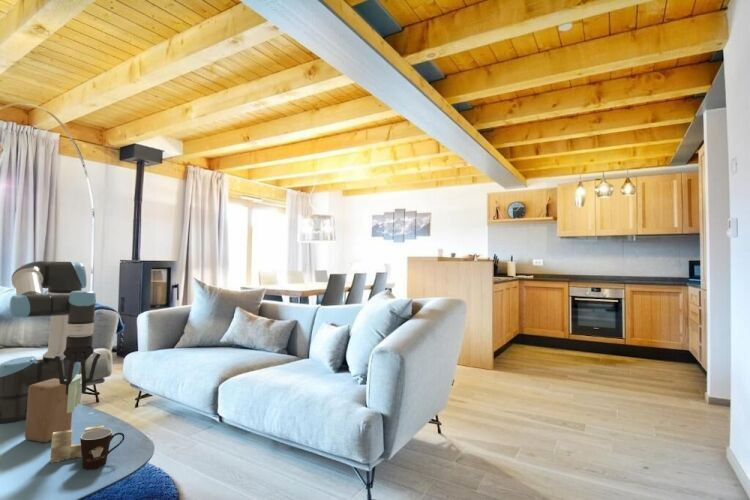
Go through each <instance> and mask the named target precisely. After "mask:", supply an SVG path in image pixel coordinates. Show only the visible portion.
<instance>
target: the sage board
mask: <svg viewBox="0 0 750 500" xmlns="http://www.w3.org/2000/svg"><path fill="white" fill-rule="evenodd" d="M80 383H82V376H81V373H80V374H79V373H78V374H77V375H76V376H75V377H74V379H73V380H72V381H71V383H70V384H69V388H68V402H67V413H71V412H72V413H74V412H75V410H76V408H77V407H78V405H79V404H78V394H79V384H80Z"/></svg>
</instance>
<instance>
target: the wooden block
mask: <svg viewBox="0 0 750 500" xmlns="http://www.w3.org/2000/svg"><path fill="white" fill-rule="evenodd" d="M67 402H68V395H66V385H65V384H60V381H59V379H56V378H53V379H50V380H46V381H43V382H39V383H35V384H32V385H30V386H29V389H28V402H27V416H26V419H25V429H24V430H25V434H24V438H25V440H27V441H33V442H41V443H47V442H50V441H51V442H52V434H53V432H59V431H66V430H72V418H73V412H71V413H67Z"/></svg>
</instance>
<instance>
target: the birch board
mask: <svg viewBox="0 0 750 500" xmlns="http://www.w3.org/2000/svg"><path fill="white" fill-rule="evenodd" d="M101 428H105V425H104V424H103V425H98V426H89V427H85V429H84V433H85V432H87V431H90V430H94V429H101ZM73 430H74V429H71V430H66V431H59V432H53V434H52V440H51V445H50V446H51V447H50V461H49V462H50V463H51V464H55V463H54V462H57V463H60V462H61V461H62V460H61V459H66V460H68V459H67V458H72V459H76V458H75V457H78V458H82V457H81V456H82V454H81V442H79V443H74V444H73V433H74V431H73ZM59 461H60V462H59Z"/></svg>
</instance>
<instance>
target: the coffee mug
mask: <svg viewBox="0 0 750 500" xmlns="http://www.w3.org/2000/svg"><path fill="white" fill-rule="evenodd" d="M116 436H122V439H121V440H120V441H119V443H117V444H115V446H114V447H112V448H111V449H110V444H111V442H112V440H113V438H114V437H116ZM125 439H126V438H125V433H122V432H116V433H114V434H113V429H110V428H107V427H106V428H105V427H104V428H101V429H94V430H90V431H87V432H85V431H84V432H83V433H82V434H81V435H80V443H81V454H82V457H81V463H82V467H81V468H82V469H83V470H85V471H92V470H97V469H100V468H102V467H104V466H105V465H106V464H107V461H108V457H109V454H110V453H111V452H112V451H114V450H115V449H117V448H118V447H119V446H120V445H121V444H122V443H123V442H124V440H125Z"/></svg>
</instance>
